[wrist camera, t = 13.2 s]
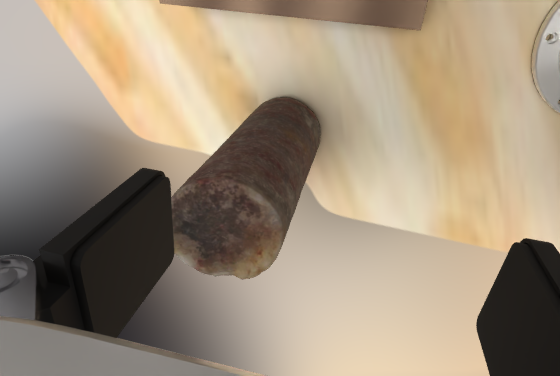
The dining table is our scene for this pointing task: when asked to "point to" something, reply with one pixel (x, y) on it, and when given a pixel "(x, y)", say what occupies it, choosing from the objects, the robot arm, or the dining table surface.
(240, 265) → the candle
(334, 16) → the hole block
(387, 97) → the dining table surface
